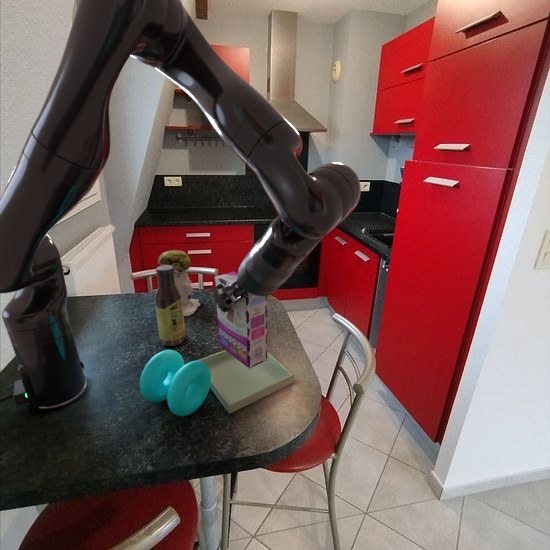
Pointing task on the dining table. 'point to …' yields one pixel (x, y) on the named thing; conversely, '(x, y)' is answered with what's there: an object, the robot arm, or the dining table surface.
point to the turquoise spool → (176, 382)
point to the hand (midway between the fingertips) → (236, 303)
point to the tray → (244, 379)
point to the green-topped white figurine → (181, 278)
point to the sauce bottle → (169, 308)
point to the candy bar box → (243, 326)
